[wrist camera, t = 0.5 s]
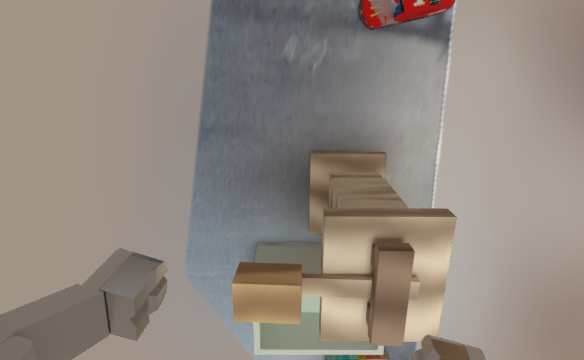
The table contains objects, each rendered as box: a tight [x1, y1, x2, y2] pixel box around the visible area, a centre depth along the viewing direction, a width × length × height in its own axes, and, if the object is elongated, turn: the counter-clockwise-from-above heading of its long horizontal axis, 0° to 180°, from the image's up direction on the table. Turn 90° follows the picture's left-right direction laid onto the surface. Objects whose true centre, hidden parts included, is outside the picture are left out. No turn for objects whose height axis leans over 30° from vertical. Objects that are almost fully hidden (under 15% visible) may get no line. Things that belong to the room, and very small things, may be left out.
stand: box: [309, 152, 457, 346], centre depth 45 cm, size 14×12×29 cm
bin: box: [253, 243, 384, 355], centre depth 59 cm, size 15×21×10 cm
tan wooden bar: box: [232, 262, 420, 324], centre depth 32 cm, size 4×17×4 cm, turn 90°
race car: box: [359, 0, 455, 29], centre depth 48 cm, size 13×5×4 cm, turn 101°
